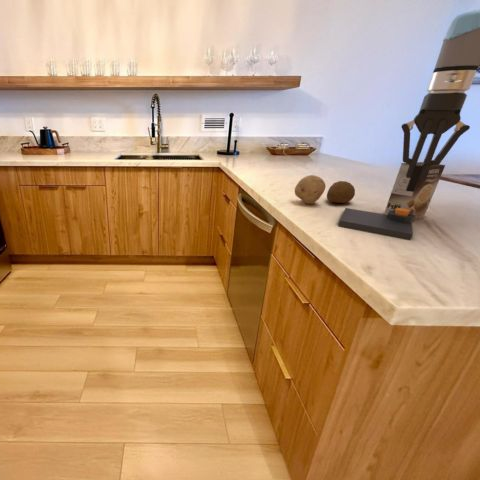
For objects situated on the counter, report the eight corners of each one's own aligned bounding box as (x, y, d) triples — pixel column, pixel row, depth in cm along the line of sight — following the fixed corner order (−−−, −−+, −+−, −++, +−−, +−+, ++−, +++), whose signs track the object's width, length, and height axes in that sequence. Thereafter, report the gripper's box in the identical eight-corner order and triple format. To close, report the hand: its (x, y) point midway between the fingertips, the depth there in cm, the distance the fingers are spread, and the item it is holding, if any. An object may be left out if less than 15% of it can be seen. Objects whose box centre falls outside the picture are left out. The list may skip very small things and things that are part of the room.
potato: (355, 201, 103) (361, 179, 100) (348, 209, 95) (354, 186, 91) (330, 197, 108) (335, 176, 105) (321, 204, 99) (326, 182, 96)
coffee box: (404, 222, 84) (425, 166, 77) (382, 215, 89) (400, 163, 82) (424, 218, 87) (446, 164, 80) (401, 212, 92) (420, 161, 85)
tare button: (407, 214, 81) (409, 209, 80) (408, 217, 79) (410, 212, 78) (394, 212, 82) (396, 207, 82) (394, 215, 80) (396, 209, 80)
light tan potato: (296, 207, 97) (302, 177, 93) (289, 199, 105) (294, 172, 101) (324, 208, 96) (332, 178, 92) (315, 200, 104) (321, 173, 100)
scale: (410, 224, 82) (414, 212, 81) (412, 241, 72) (417, 228, 70) (344, 213, 91) (347, 202, 90) (337, 226, 81) (341, 214, 79)
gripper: (411, 92, 69) (379, 189, 78) (489, 91, 61) (443, 197, 71) (410, 94, 74) (380, 184, 84) (481, 92, 67) (440, 191, 77)
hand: (409, 190), depth 78 cm, fingers closed
